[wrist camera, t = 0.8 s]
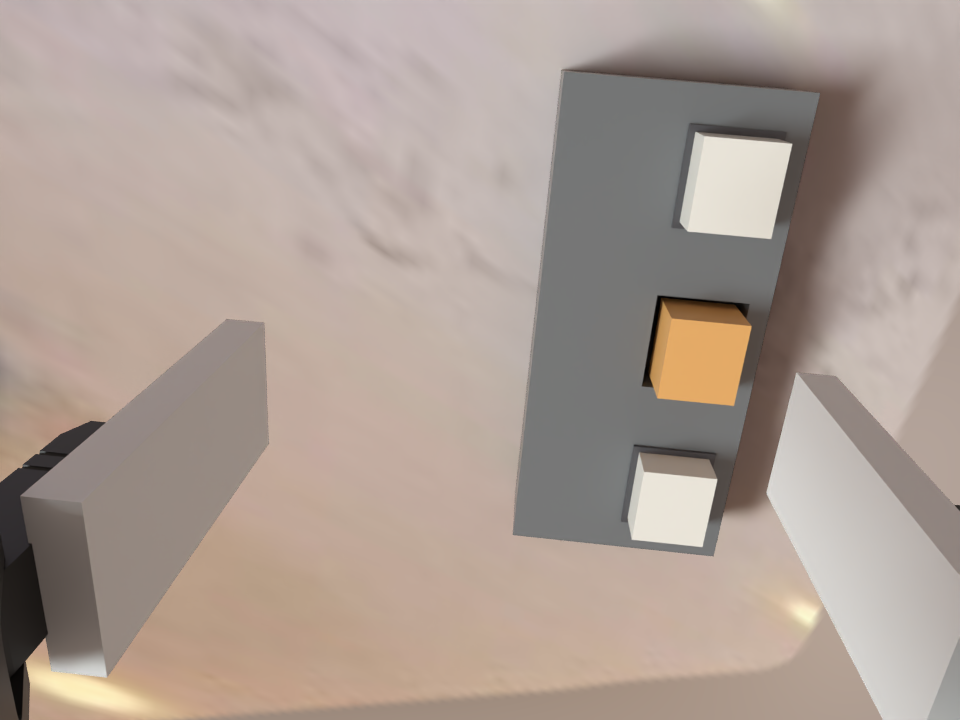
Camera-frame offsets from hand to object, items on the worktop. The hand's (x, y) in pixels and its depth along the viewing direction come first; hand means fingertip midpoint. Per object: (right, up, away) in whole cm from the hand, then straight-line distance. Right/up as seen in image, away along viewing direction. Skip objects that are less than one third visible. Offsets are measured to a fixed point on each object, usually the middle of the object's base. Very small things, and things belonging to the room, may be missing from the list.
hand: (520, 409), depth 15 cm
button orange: (+10, +2, +23) cm, 25 cm away
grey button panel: (+7, +3, +26) cm, 27 cm away
